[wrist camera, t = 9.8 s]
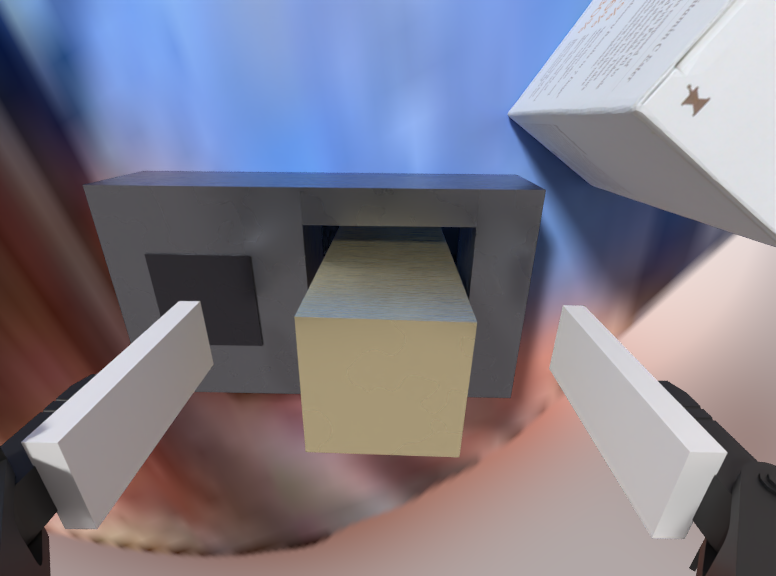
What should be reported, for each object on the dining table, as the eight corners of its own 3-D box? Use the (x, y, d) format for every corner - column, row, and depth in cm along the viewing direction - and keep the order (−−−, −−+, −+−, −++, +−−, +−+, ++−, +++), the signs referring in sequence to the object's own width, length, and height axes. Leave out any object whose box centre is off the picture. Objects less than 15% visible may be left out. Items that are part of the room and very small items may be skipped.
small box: (589, 187, 19) (788, 264, 9) (502, 113, 18) (627, 115, 8) (736, 25, 16) (1237, -103, 6) (644, -75, 15) (1095, -415, 5)
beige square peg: (342, 310, 22) (304, 452, 13) (340, 222, 20) (292, 316, 11) (434, 313, 22) (460, 457, 13) (441, 225, 20) (479, 322, 11)
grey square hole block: (185, 346, 23) (144, 392, 19) (143, 170, 19) (80, 185, 15) (492, 352, 23) (511, 399, 19) (516, 175, 19) (546, 190, 15)
